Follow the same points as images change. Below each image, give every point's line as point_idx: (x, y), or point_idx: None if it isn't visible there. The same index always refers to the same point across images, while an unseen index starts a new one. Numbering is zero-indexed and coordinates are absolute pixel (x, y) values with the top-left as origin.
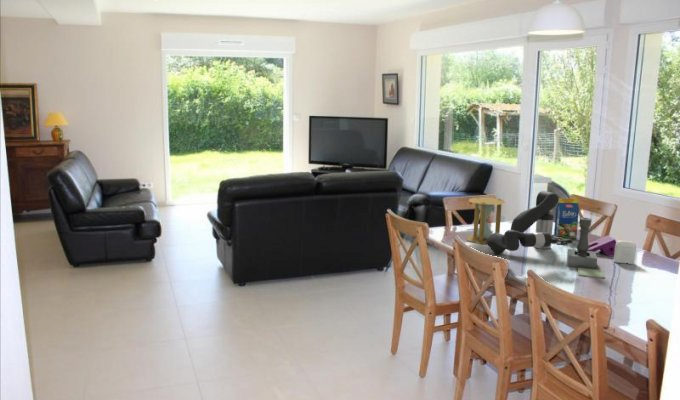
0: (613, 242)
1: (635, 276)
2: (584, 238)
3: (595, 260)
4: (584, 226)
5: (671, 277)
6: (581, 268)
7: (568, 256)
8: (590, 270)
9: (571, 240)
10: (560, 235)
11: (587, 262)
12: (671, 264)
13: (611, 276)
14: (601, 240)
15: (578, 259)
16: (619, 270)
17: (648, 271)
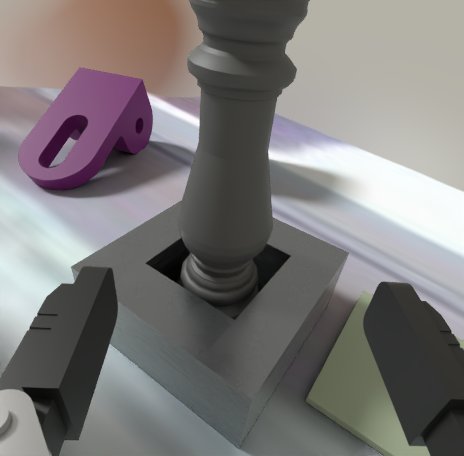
0: (140, 94)
1: (418, 229)
2: (266, 151)
3: (341, 268)
4: (295, 8)
5: (403, 166)
6: (327, 383)
7: (251, 402)
8: (372, 354)
9: (442, 318)
10: (102, 286)
11: (317, 311)
12: (275, 114)
13: (448, 311)
14: (82, 99)
15: (292, 345)
16: (335, 227)
17: (343, 172)
